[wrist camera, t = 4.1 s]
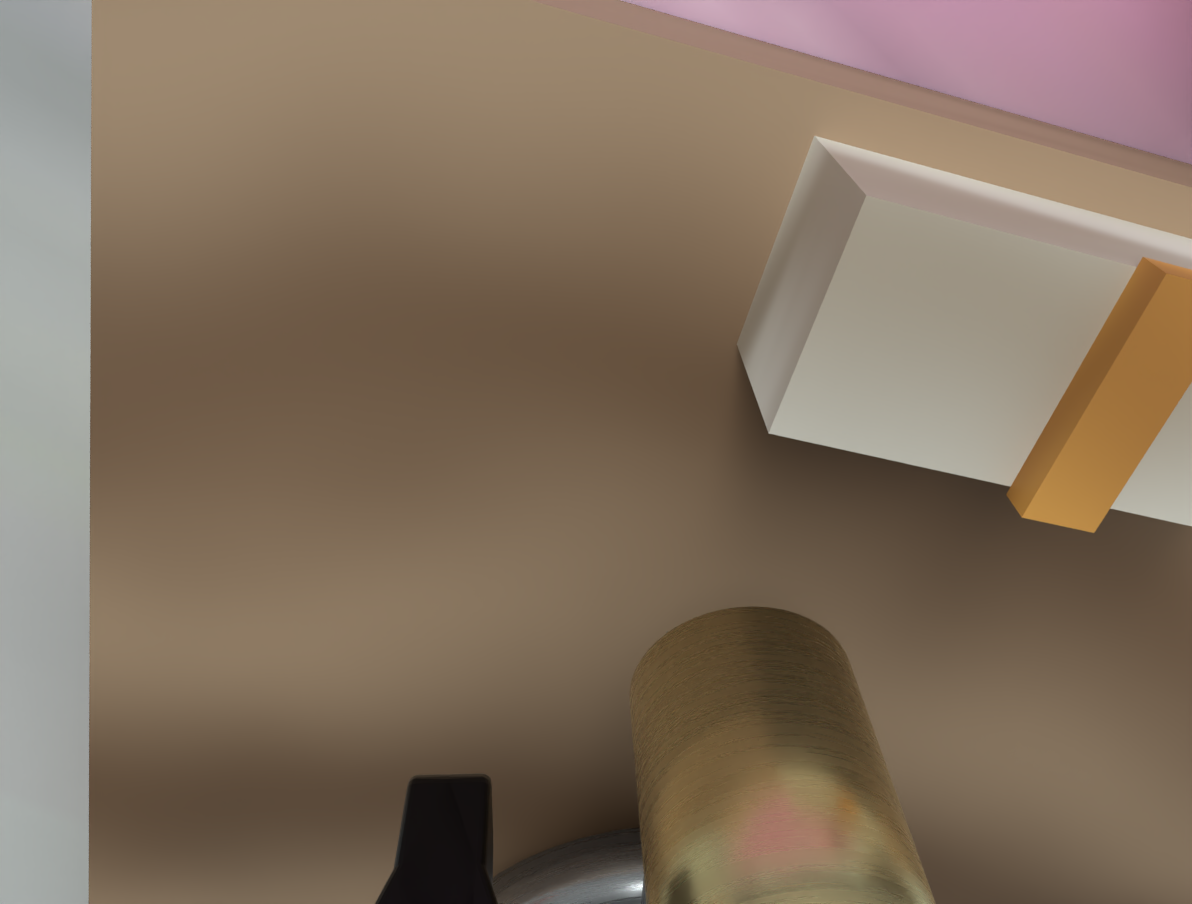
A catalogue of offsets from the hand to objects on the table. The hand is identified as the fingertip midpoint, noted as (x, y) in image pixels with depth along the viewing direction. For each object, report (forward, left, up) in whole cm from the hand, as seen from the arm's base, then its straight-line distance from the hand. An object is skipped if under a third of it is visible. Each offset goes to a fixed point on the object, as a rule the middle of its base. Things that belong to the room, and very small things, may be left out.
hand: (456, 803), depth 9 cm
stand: (-6, -5, -6) cm, 10 cm away
